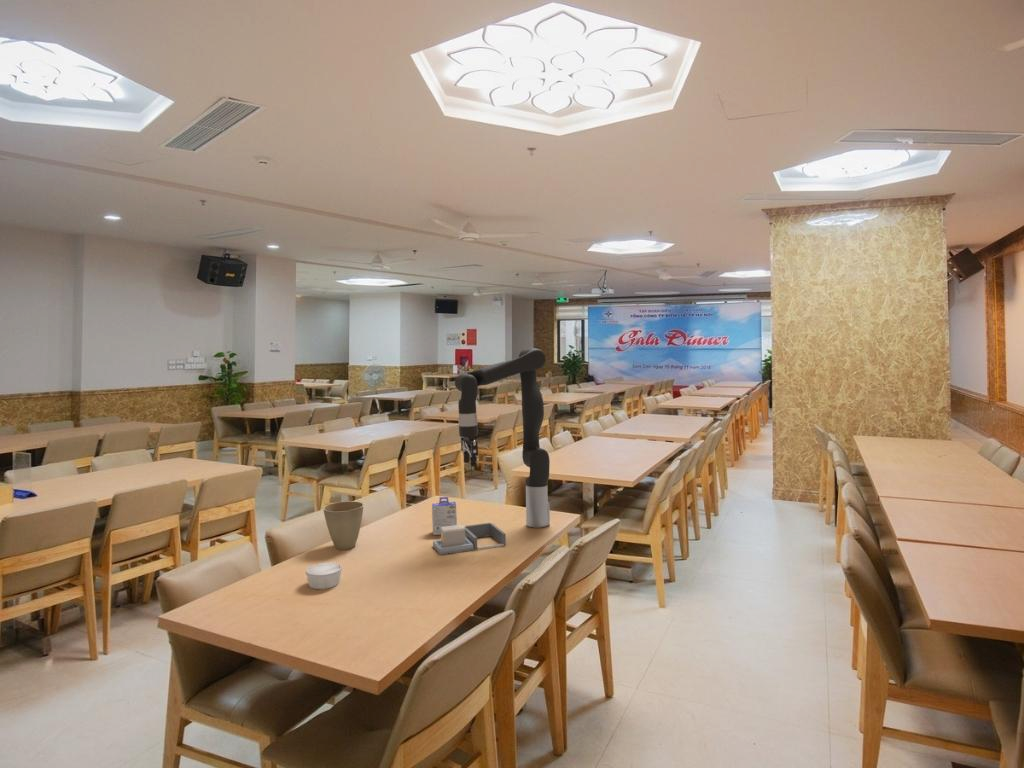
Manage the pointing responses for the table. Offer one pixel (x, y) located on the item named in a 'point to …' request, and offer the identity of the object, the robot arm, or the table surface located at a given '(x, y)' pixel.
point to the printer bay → (485, 534)
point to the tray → (453, 547)
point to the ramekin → (323, 575)
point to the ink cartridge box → (443, 515)
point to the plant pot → (344, 523)
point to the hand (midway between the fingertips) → (470, 464)
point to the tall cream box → (452, 535)
